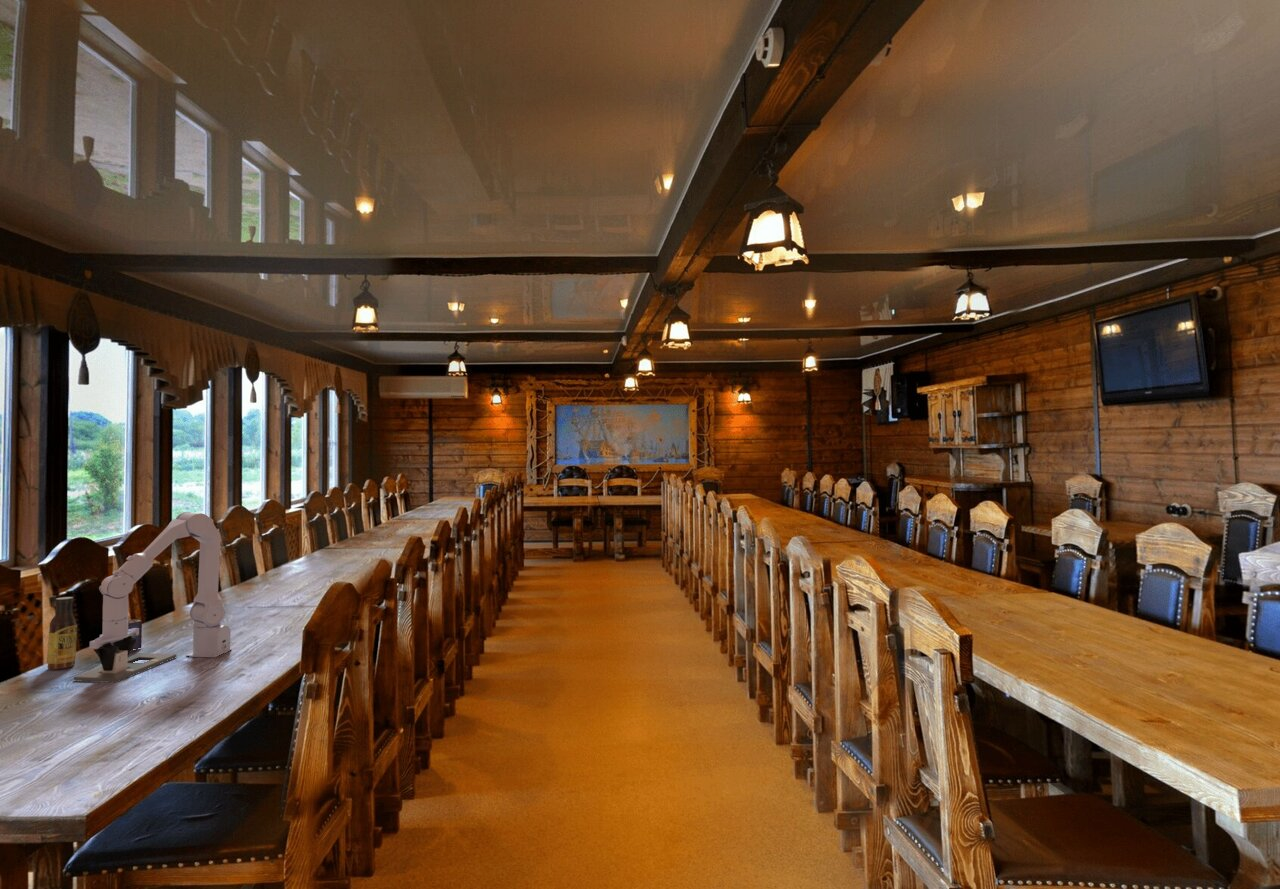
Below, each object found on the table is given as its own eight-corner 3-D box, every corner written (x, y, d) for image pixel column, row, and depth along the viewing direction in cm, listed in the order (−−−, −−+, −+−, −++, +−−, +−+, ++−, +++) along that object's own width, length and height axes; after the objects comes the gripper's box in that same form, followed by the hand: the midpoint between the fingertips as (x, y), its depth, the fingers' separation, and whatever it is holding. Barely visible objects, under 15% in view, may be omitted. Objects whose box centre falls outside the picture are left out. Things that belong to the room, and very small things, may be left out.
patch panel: (176, 658, 207) (176, 653, 207) (115, 682, 185) (115, 677, 185) (138, 657, 208) (138, 652, 208) (73, 681, 186) (73, 676, 186)
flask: (107, 656, 208) (108, 620, 209) (104, 654, 210) (104, 619, 210) (143, 649, 216) (143, 614, 216) (139, 647, 218) (139, 613, 218)
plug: (129, 671, 193) (129, 645, 194) (117, 676, 189) (118, 649, 190) (113, 671, 194) (114, 645, 194) (101, 676, 190) (102, 649, 190)
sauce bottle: (59, 671, 194) (60, 601, 194) (41, 670, 195) (42, 600, 195) (82, 664, 200) (83, 596, 200) (64, 663, 201) (65, 595, 202)
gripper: (123, 612, 199) (122, 659, 199) (79, 625, 185) (78, 675, 185) (146, 613, 199) (145, 660, 199) (103, 625, 184) (103, 676, 184)
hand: (114, 667), depth 192 cm, fingers closed on plug, 4 cm apart
